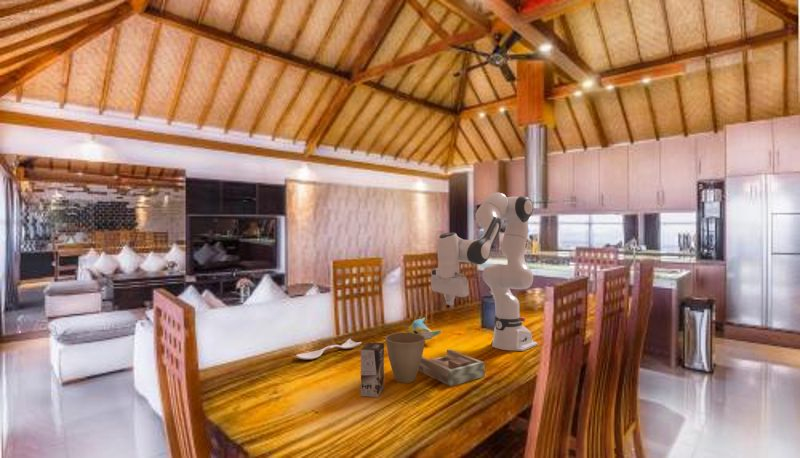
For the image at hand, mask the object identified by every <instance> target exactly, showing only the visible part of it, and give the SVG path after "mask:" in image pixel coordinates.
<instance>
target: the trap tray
mask: <svg viewBox="0 0 800 458" xmlns="http://www.w3.org/2000/svg"><path fill="white" fill-rule="evenodd" d="M459 357H461V358H463V359H466V360H468V361H471V364H469V365H465V366H462V367H458V368H454V369H450V368H448V360H451V359H455V358H459ZM485 364H486V363H485V362H484V361H482V360H479V359H477V358H474V357H471V356H469V355H467V354H463V353H460V352H458V351H455V350H452V349H451V348H450V349H446V355H444V356H438V357H434V358H431V359H429V358H426V357H424V356H422V359H421V363H420V366H419V369H418V372H420V373H422V374H424V375H426V376H429V377H430V378H433V379H435V380H437V381H438V382H441V383H442V384H445V385H447V386H450V387H454V386H457V385H461V384H464V383H467V382H470V381H474V380H477V379H481V378H485V376H486V375H485V373H486V372H485V368H486V367H485Z"/></svg>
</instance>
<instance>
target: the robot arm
mask: <svg viewBox="0 0 800 458" xmlns="http://www.w3.org/2000/svg"><path fill="white" fill-rule="evenodd" d="M533 211H534V204H533V201H532V200H531V199H530V197H528V196H524V195H523V196H522V195H521V196H508V197H507V196H506V195H505V194H504V193H502V192H493V193H492V194H491V195H489V196H488V197H487V198H485V200H484V201H483V202H482V203H481V204H480V206H478V208H477V210H476V211H475V212H476V213H475V221H476V223H477V224H478V226H480V227H481V228H482V229H483V230H484V231H483V233H482V235H481V237H480V238H476V239H463V238H461V237H459V236H458V235H457V233H456V232H446V233H445V232H444V233H442V234H439V236H438V239H437V257H438V263H437V267H436V268H434V269H431V270H430V275H431V276H430V287H431V290H432V292H435V293H439V294H443V297H444V300H445V304H446V305H448V306H454V305H455V299H456V297H457V298H458V297H460V298H466V297H468V296H469V294H470V289H469V288H470V287H469V281H468V278H467V276H466V275H465V274H464V273H460V263H469V264H470V263H471V264H475V265H484V264H485V263H486V262H487V261H488V260H489V258H490V256H491V252H492V251H491V250H492V248H493V245H494V244H495V241H496V240H497V238H498V236H499V233H500V231H501V227H502V220H503V221H506V223H507V224H506V226H505V229H504V233H503V237H502V241H501V242H502V243H501V247H500V251H501V254H502V255H503V257H505V258H506V259H507V263H506V264H501V263H494V264H488V265H486V266H485V267H484V268H483V271H482V280H483V281H484V283H485V284H486V285H487V286H488V288H489V289H490V290H491V292H492V296H493V299H494V308H495V310H494V311H495V312H494V313H495V316H494V327H493V328H494V329H493V339H492V340H491V342H492V345H491V346H492V347H493V348H495V349H497V350H501V351H502V350H503V351H517V352H524V351H526V350H529V349H531V348H533V347H536V346H538V342H536V341H535V340H533V337H532V336H533V335H532V332H531V331H530V330H529V329H528V328H527V327H526V326H525V325H524V324H523V322H526V320H527V319H526V317H524V316H521V317H520V301H519V299H518V298H517V297H516V296H514V294H513V293H512V291H511V289H512V290H526V289H529V288H530V287H531V286H532V285H533V282H534V274H533V271H532V270H531V269H530V268H529V266H528V265H527V263H526V260H525V252H526V244H527V240H528V235H529V234H528V232H529V231H528V230H529V222H528V221H529V219H530V217H531V216H532V214H533Z"/></svg>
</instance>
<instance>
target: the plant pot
mask: <svg viewBox="0 0 800 458" xmlns="http://www.w3.org/2000/svg"><path fill="white" fill-rule="evenodd" d="M385 342H386V349H387V350H386V351H387V357H388V361H389V363H390V368H391V371H392V374H393V376H394V379H395V381H396V382H398V383H401V384H409V383H413V382H414V381H415V380H416V378H417V375H418V372H419V371H418V369H419V366H420V363H421V359H422V357H423V353H424V348H425V342H426V340H425V337H424V336H423V335H420V334H416V333H408V332H395V333H394V332H393V333H391V334H387V335H386V336H385Z"/></svg>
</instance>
